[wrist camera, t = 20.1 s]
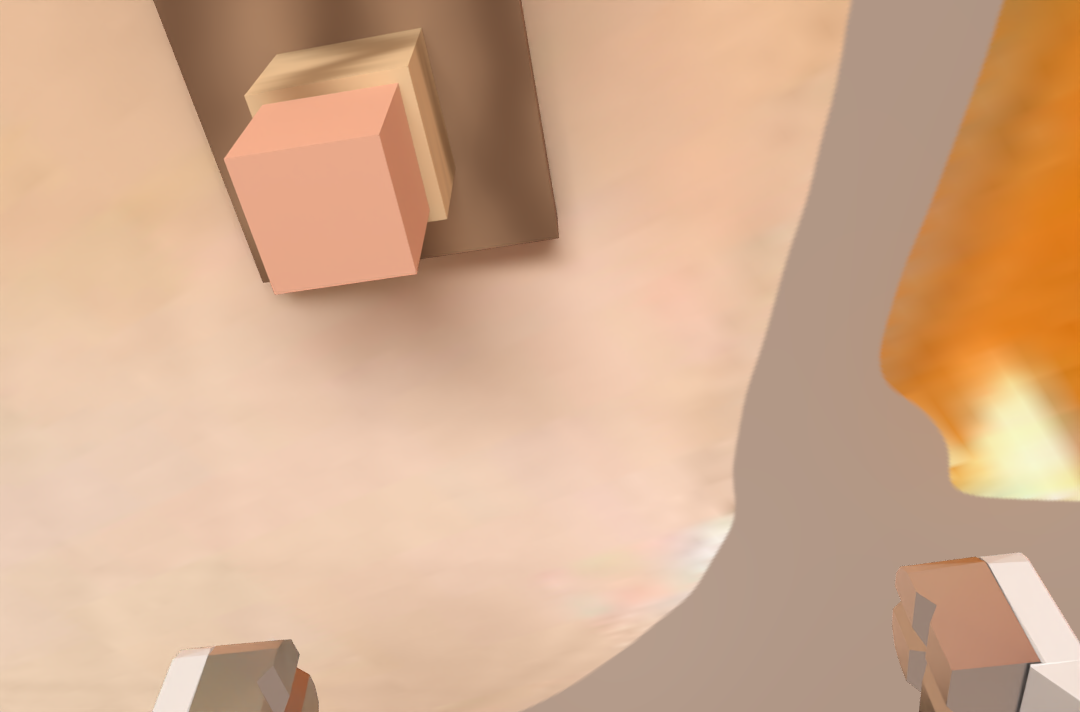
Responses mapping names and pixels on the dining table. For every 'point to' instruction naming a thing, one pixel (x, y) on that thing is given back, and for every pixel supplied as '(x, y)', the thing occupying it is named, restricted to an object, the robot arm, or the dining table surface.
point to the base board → (461, 81)
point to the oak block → (370, 67)
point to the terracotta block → (332, 189)
